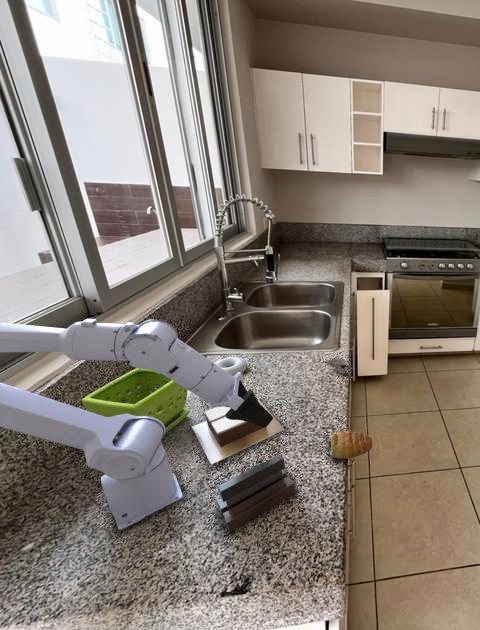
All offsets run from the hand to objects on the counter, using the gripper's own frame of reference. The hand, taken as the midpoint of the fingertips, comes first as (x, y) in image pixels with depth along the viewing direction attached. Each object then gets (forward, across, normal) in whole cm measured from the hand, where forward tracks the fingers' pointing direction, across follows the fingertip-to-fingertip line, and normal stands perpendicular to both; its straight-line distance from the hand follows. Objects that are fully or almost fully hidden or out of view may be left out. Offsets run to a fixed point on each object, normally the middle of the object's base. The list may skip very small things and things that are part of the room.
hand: (264, 416), depth 66 cm
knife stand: (+10, -1, +12) cm, 16 cm away
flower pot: (-7, +34, +18) cm, 39 cm away
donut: (+1, +50, -2) cm, 50 cm away
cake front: (+5, +20, +7) cm, 22 cm away
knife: (+10, -1, +12) cm, 16 cm away
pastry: (+21, +1, -4) cm, 21 cm away
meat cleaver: (+22, +33, -21) cm, 45 cm away
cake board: (+5, +22, +7) cm, 23 cm away
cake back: (+4, +25, +6) cm, 26 cm away
